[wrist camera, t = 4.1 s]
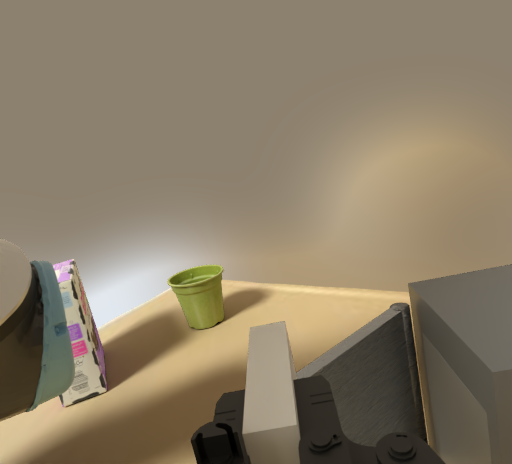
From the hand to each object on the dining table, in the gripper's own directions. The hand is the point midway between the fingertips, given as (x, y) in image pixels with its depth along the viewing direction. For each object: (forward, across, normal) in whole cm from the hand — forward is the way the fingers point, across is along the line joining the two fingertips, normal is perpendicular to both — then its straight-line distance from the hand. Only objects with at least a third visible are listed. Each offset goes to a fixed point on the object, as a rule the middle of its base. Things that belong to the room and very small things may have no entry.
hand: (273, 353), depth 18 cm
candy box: (+39, -31, -20) cm, 54 cm away
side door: (+10, +4, -18) cm, 21 cm away
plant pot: (+51, -14, -20) cm, 56 cm away
